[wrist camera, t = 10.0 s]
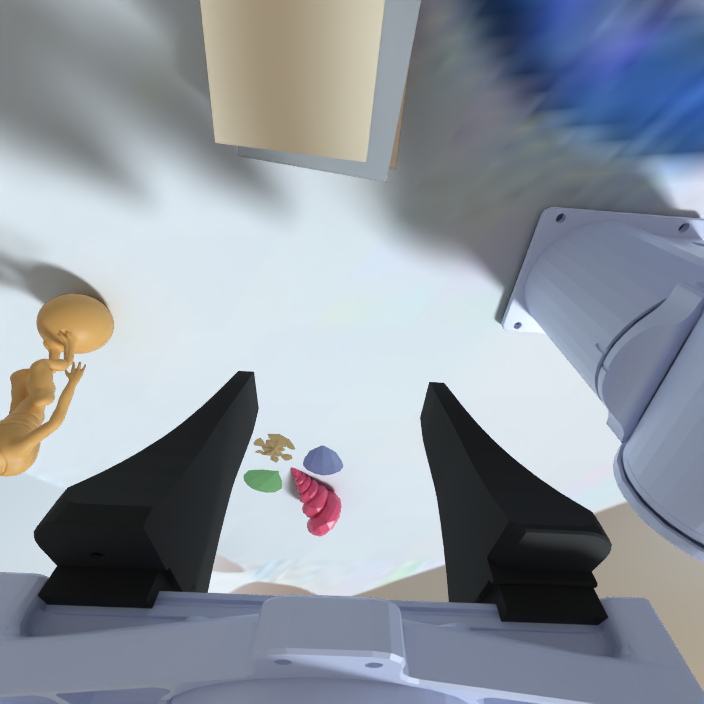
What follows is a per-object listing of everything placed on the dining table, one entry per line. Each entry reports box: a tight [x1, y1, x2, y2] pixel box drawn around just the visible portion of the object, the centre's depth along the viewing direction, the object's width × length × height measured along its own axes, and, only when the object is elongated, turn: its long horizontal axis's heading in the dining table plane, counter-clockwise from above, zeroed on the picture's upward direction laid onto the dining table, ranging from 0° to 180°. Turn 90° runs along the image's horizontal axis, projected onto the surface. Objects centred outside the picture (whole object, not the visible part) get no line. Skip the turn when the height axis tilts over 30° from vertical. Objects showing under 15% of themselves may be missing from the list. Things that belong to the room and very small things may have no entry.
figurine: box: [0, 294, 114, 476], centre depth 20 cm, size 8×6×12 cm
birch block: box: [200, 0, 385, 162], centre depth 10 cm, size 4×4×5 cm
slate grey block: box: [238, 0, 421, 182], centre depth 13 cm, size 6×6×3 cm
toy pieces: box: [244, 434, 343, 536], centre depth 33 cm, size 12×11×4 cm
